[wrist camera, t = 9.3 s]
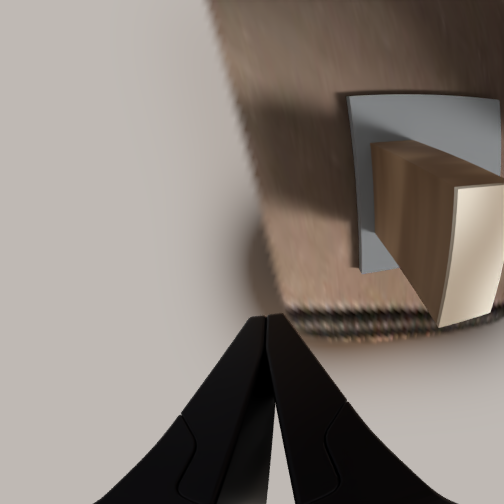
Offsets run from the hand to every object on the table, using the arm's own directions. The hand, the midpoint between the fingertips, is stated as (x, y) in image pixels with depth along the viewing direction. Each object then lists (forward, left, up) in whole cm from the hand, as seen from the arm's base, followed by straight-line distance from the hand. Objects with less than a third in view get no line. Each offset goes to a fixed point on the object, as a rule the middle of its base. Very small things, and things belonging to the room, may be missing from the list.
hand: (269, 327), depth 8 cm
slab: (-7, 0, -9) cm, 12 cm away
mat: (-10, 0, -10) cm, 14 cm away
